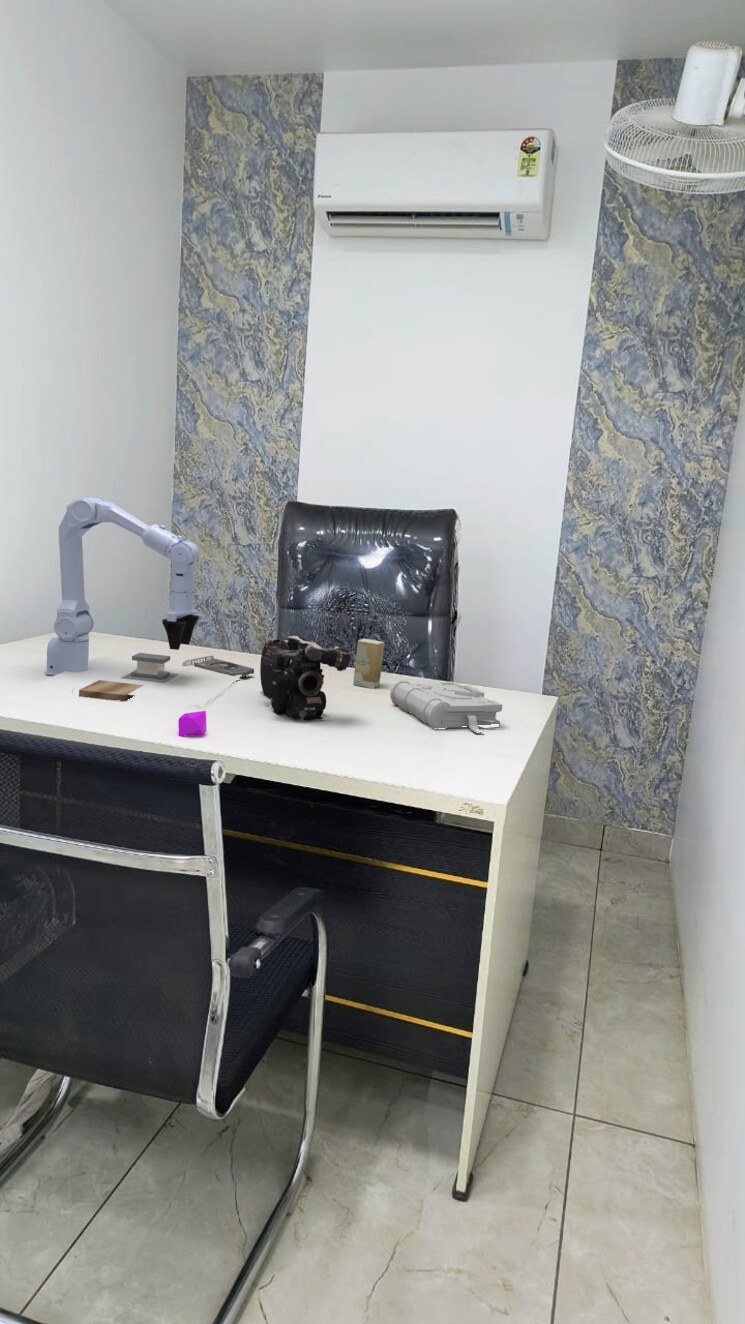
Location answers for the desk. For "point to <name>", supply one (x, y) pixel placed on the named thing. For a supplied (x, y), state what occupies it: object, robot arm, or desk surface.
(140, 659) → the block
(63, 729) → the desk surface
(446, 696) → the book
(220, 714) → the desk surface
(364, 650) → the skincare box
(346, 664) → the movie camera
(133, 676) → the stand
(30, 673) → the desk surface
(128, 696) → the stand
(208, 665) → the graphics card
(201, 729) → the crystal
